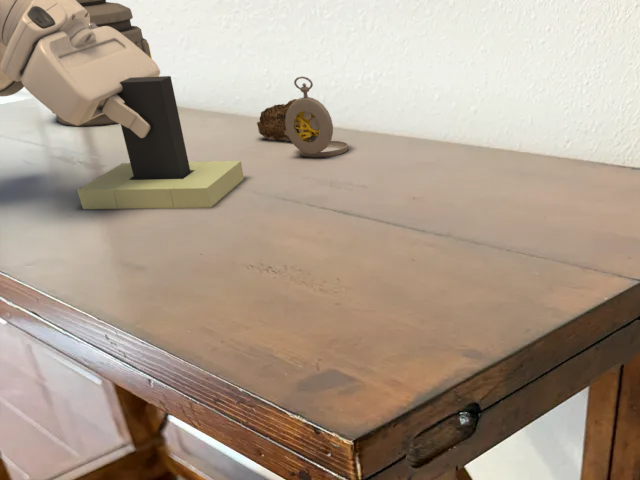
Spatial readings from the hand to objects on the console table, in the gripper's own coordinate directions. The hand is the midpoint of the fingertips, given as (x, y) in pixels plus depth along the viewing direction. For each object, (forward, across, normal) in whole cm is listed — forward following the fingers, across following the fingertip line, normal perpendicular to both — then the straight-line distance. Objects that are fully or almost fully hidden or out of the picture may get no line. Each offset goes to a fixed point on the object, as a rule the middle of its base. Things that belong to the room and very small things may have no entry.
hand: (156, 128), depth 94 cm
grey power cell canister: (-18, -51, -29) cm, 61 cm away
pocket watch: (+15, -18, +4) cm, 24 cm away
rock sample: (+11, -28, 0) cm, 30 cm away
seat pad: (+5, 0, -6) cm, 8 cm away
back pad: (+4, 0, -5) cm, 6 cm away
